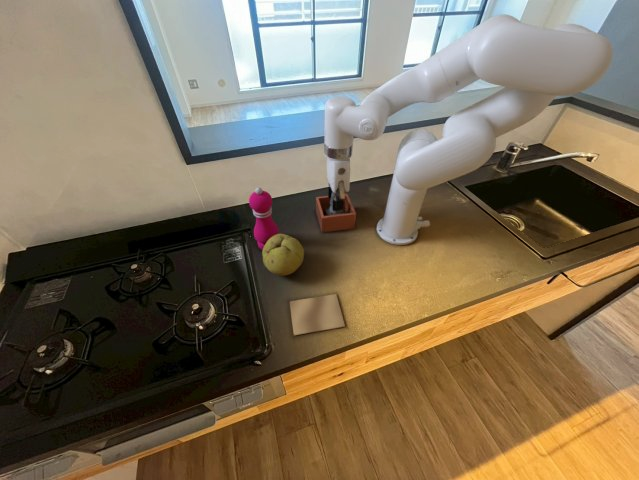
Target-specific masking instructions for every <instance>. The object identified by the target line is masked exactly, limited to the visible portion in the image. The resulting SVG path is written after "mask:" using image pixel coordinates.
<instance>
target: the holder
mask: <svg viewBox="0 0 639 480" xmlns="http://www.w3.org/2000/svg"><path fill="white" fill-rule="evenodd" d="M344 194H345V199H344V204H343V209H344V214H338V215H330V216H327V215H324V213H326V209H327V208H328V207H330V206H331V204H330V200H331V198H328V195H323V196H315V213H316V217H317V220H318V224H319V227H320V231H321V233H329V232H336V231H337V232H338V231H344V230H345V231H346V230H352V229H353V230H354V229H355V226H356V219H357V218H356V217H357V212H356V210H355V208H354V206H353V203H352V201H351V199H350V196H349V194H348V193H344Z"/></svg>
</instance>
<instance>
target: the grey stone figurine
mask: <svg viewBox="0 0 639 480" xmlns="http://www.w3.org/2000/svg"><path fill="white" fill-rule="evenodd" d="M336 195H337V196H339V193H336ZM333 199H334V192H332V193H331V200H330V204H331V206H330V207H328V208H327V209H326V212H325V214H326V216H330V215H338V214H345V210H344V209H343V210H336V211H333Z"/></svg>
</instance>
